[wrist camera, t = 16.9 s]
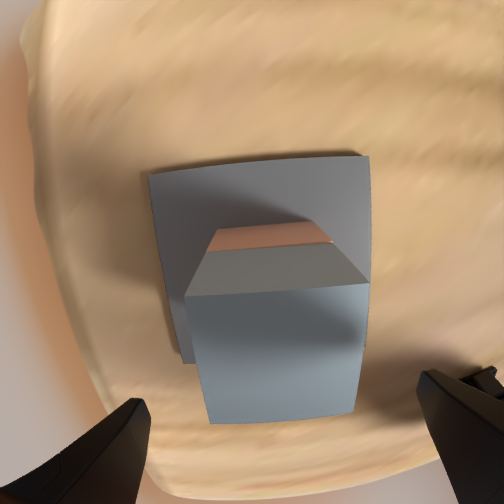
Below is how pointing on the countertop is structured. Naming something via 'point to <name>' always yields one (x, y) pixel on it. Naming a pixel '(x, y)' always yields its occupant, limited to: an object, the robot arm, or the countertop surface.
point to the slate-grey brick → (278, 332)
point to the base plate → (256, 214)
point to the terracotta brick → (268, 236)
